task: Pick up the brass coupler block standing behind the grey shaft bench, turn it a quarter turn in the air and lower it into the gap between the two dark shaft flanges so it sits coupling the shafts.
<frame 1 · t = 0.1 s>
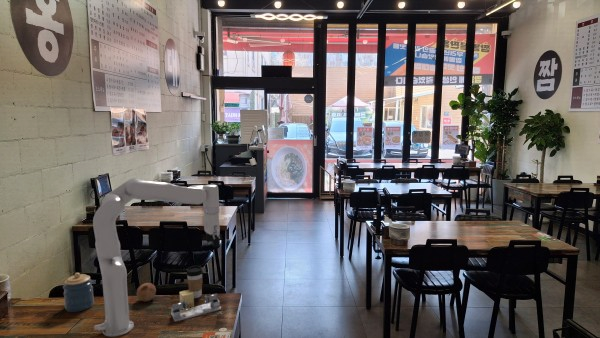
hand: (213, 243, 193), 31 cm above the table, fingers open, 9 cm apart
shaft bench: (196, 312, 189), on the table
coffee cup: (195, 296, 207), on the table
onion: (146, 300, 203), on the table
canister: (80, 306, 197), on the table
coupler: (187, 305, 196), on the table
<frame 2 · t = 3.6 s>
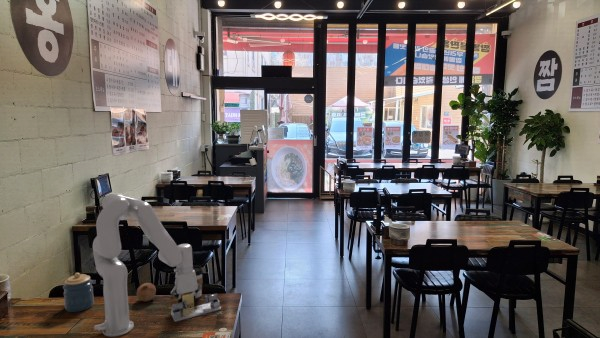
hand: (187, 303, 196), 1 cm above the table, fingers closed on coupler, 5 cm apart
coupler: (187, 305, 196), on the table, touching gripper
everything else where it was.
when the fingers open (3 cm above the table, at t = 7.9 s): coupler drops 1 cm, resting on shaft bench.
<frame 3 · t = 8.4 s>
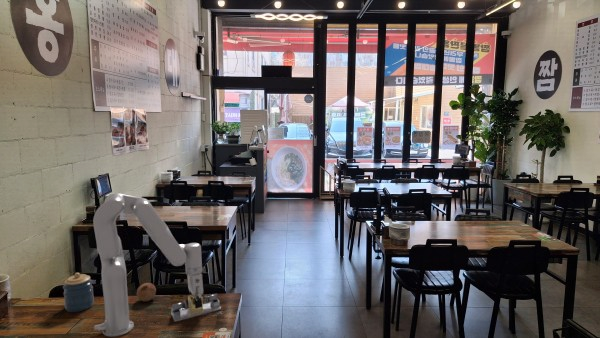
hand: (195, 303, 188), 4 cm above the table, fingers open, 9 cm apart
coupler: (195, 310, 189), point 1 cm above the table, touching shaft bench
everything else where it was.
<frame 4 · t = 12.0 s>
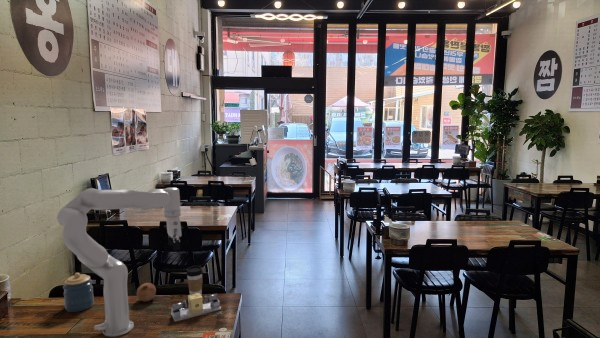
hand: (174, 247, 192), 30 cm above the table, fingers open, 9 cm apart
nothing on the table moved.
at the end: coupler 0.1 cm off-centre on the shaft bench, point 1.0 cm above the shaft bench's base; coupler tilted 0°; the gripper is holding nothing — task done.
